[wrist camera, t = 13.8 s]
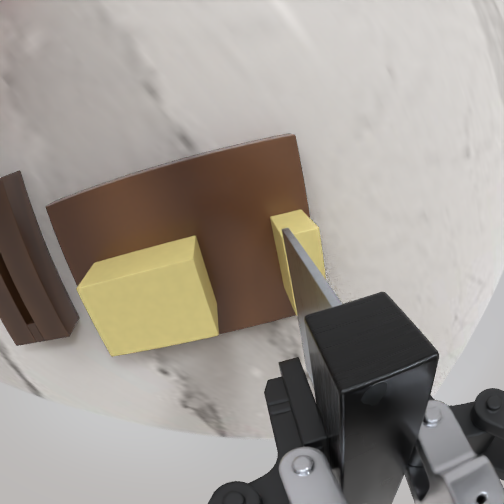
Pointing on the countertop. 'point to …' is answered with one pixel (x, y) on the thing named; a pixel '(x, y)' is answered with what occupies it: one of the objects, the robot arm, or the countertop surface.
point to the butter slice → (307, 238)
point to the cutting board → (197, 221)
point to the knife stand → (29, 273)
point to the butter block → (151, 298)
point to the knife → (362, 379)
